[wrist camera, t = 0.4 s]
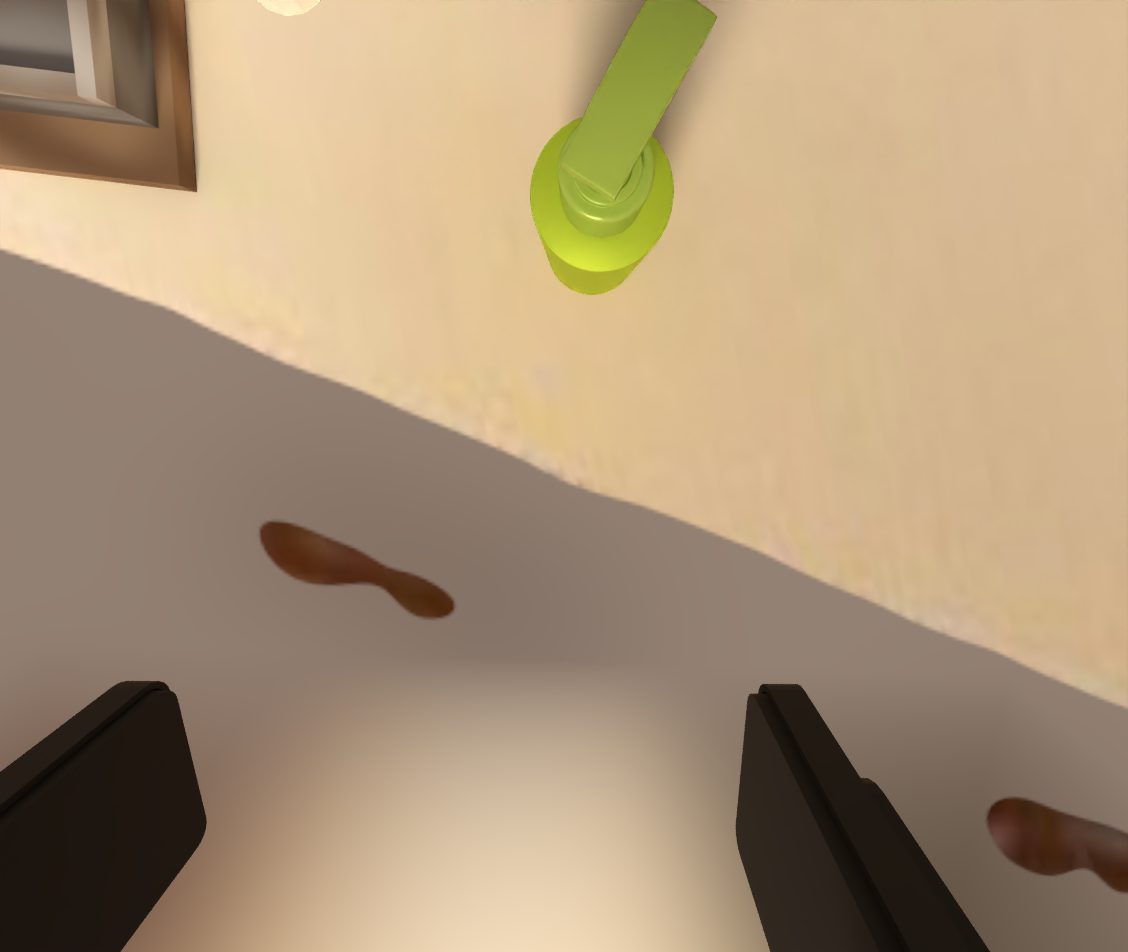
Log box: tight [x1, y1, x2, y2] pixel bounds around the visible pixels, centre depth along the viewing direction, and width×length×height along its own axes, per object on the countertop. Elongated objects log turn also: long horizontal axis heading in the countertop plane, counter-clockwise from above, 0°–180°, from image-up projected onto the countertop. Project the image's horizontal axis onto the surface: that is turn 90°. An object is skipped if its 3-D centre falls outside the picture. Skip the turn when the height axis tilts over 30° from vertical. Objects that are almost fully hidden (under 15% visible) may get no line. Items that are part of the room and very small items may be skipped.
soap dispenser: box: [530, 0, 717, 295], centre depth 24 cm, size 6×7×20 cm
